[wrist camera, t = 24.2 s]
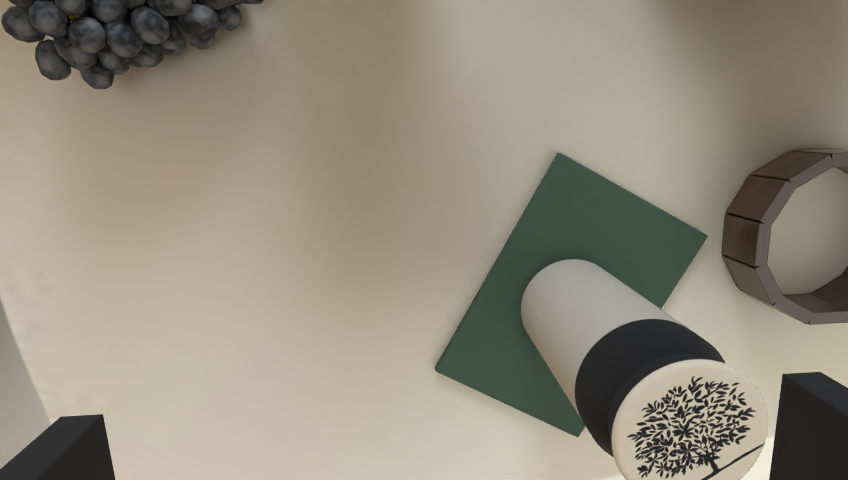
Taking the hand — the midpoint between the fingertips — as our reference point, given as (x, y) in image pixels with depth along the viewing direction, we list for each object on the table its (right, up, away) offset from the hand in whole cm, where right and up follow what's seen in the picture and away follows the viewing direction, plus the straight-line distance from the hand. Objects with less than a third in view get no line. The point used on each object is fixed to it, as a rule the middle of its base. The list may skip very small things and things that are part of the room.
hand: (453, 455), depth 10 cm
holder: (+30, +5, +32) cm, 44 cm away
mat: (+11, -1, +32) cm, 34 cm away
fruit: (-18, +20, +26) cm, 38 cm away
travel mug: (+11, -1, +32) cm, 34 cm away
